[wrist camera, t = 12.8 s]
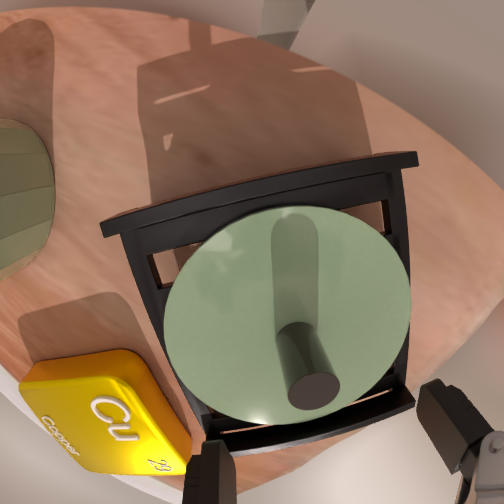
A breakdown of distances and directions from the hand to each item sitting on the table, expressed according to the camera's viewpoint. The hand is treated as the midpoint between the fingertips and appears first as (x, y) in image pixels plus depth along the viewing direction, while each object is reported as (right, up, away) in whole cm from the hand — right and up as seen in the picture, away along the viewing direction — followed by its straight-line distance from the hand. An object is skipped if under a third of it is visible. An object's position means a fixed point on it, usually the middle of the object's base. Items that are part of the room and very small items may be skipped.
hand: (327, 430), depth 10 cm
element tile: (-18, -10, +17) cm, 26 cm away
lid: (0, +2, +7) cm, 7 cm away
